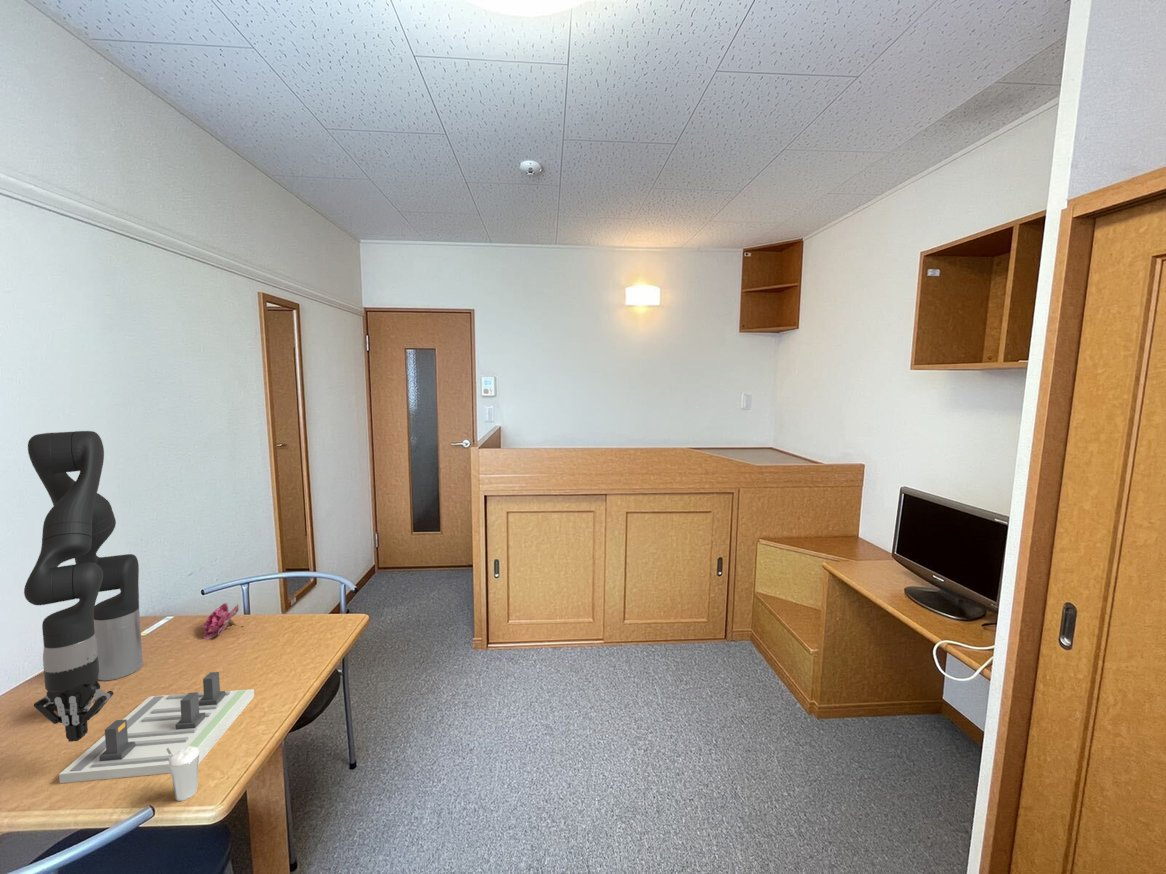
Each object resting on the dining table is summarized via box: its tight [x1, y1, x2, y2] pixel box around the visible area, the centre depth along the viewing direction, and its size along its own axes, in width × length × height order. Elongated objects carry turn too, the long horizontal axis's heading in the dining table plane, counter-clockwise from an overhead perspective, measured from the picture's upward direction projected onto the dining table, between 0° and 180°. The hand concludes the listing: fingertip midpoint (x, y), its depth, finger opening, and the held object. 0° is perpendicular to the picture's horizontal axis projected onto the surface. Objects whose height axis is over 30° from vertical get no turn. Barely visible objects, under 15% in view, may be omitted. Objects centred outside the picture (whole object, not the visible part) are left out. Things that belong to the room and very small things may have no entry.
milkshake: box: [166, 746, 199, 802], centre depth 91 cm, size 4×5×10 cm
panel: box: [58, 671, 255, 784], centre depth 106 cm, size 24×24×9 cm
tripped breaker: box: [99, 719, 135, 761], centre depth 98 cm, size 4×4×7 cm
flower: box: [202, 602, 243, 640], centre depth 150 cm, size 11×10×10 cm
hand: (77, 738), depth 96 cm, fingers closed
